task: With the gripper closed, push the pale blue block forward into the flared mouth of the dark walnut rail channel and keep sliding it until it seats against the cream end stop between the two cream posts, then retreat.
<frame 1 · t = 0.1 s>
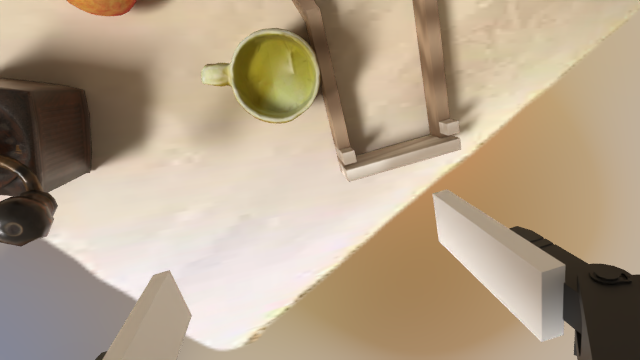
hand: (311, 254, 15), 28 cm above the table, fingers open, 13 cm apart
mug: (264, 75, 39), on the table
manual coffee grinder: (66, 131, 38), on the table
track: (378, 84, 41), on the table
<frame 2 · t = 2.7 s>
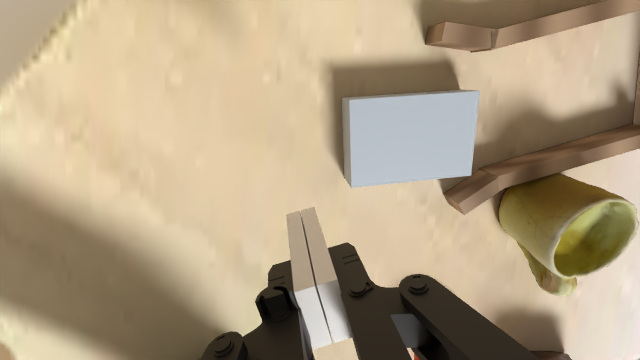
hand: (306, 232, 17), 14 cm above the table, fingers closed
pale blue block: (399, 133, 32), on the table
mug: (524, 217, 37), on the table
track: (564, 89, 33), on the table
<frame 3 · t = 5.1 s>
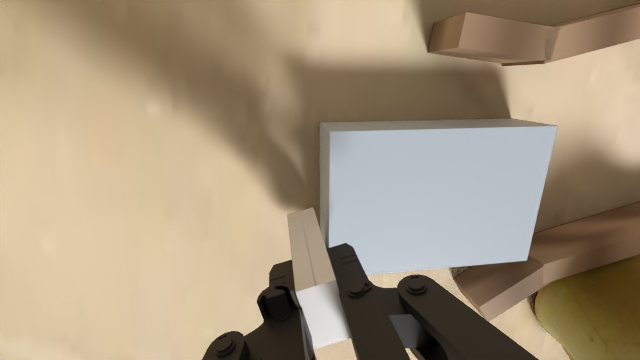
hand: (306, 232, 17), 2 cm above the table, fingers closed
pale blue block: (412, 183, 20), on the table
mug: (570, 304, 25), on the table
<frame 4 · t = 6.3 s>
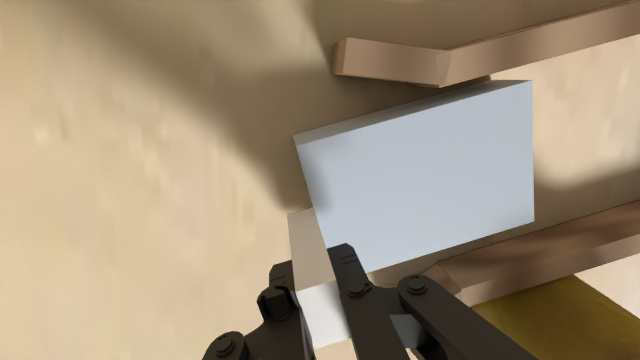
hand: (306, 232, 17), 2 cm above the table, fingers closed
pale blue block: (401, 169, 20), on the table
mug: (509, 323, 25), on the table
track: (571, 140, 20), on the table
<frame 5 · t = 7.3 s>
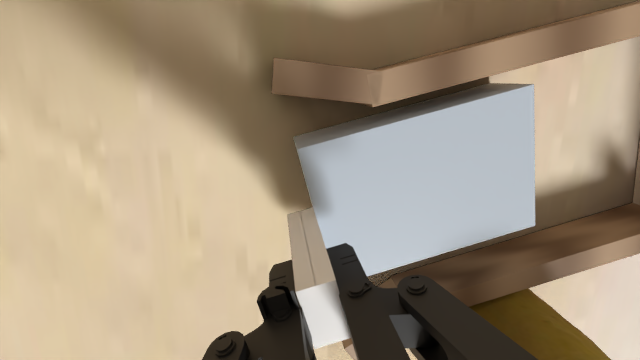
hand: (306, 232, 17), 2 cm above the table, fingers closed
pale blue block: (402, 172, 20), on the table, touching gripper
mug: (469, 336, 25), on the table
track: (522, 155, 20), on the table
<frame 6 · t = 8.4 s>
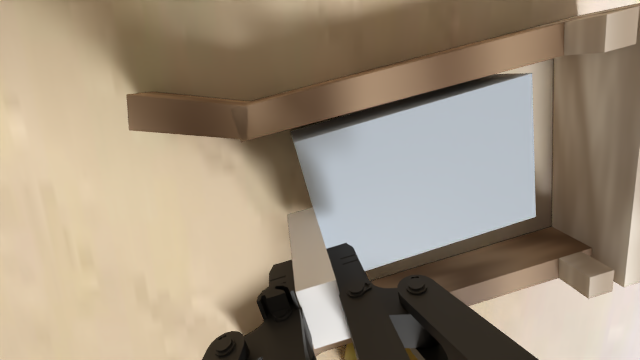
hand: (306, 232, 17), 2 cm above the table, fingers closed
pale blue block: (401, 165, 19), on the table, touching gripper
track: (429, 181, 20), on the table
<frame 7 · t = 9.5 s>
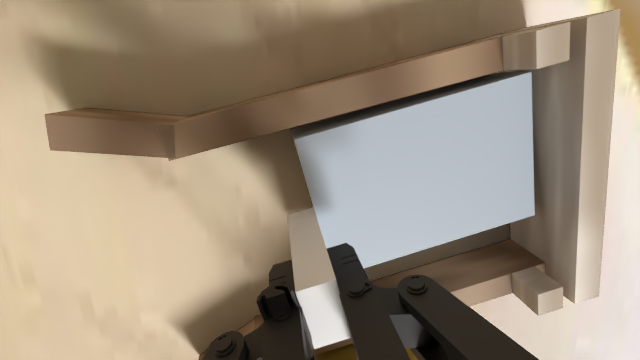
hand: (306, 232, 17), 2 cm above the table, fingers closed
pale blue block: (400, 163, 20), on the table
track: (381, 195, 19), on the table
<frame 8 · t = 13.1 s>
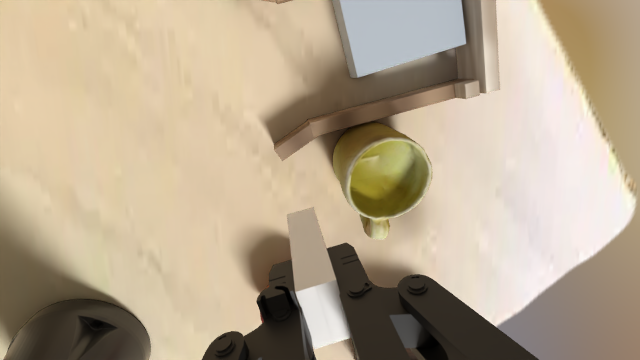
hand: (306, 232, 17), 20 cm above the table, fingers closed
pale blue block: (392, 24, 34), on the table
mug: (364, 170, 39), on the table
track: (381, 42, 34), on the table
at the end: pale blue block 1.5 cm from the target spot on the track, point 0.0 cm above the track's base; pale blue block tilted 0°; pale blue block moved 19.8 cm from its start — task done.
